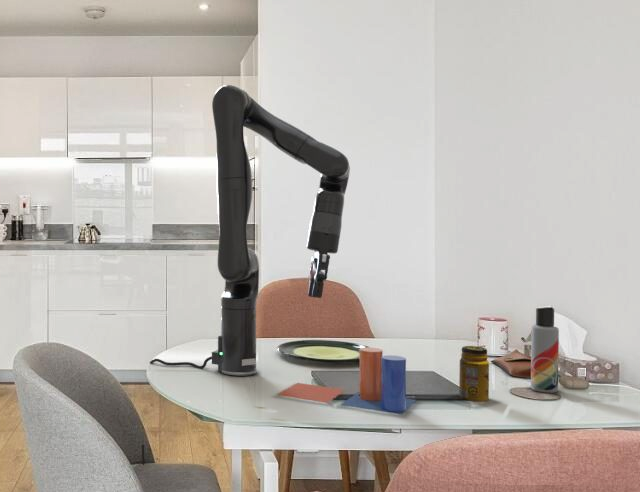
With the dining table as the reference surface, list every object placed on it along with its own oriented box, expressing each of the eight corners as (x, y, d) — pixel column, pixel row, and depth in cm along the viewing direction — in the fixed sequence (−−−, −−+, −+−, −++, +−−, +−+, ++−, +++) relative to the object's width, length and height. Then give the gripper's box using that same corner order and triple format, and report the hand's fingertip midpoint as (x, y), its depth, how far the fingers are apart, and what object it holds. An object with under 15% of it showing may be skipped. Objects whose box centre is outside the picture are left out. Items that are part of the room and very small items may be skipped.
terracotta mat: (276, 397, 165) (276, 394, 165) (297, 385, 176) (297, 382, 176) (327, 405, 158) (327, 402, 158) (345, 392, 169) (345, 389, 169)
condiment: (497, 402, 161) (497, 348, 161) (475, 407, 156) (475, 353, 156) (467, 394, 167) (467, 343, 167) (445, 400, 162) (445, 347, 162)
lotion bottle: (548, 394, 167) (549, 309, 167) (525, 388, 172) (526, 305, 172) (563, 391, 170) (564, 307, 169) (540, 385, 175) (541, 304, 174)
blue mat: (340, 407, 157) (340, 404, 157) (358, 394, 168) (358, 391, 167) (401, 417, 149) (401, 414, 149) (416, 402, 160) (416, 399, 160)
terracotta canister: (356, 398, 161) (356, 350, 161) (363, 393, 165) (363, 346, 165) (378, 402, 158) (379, 352, 158) (385, 397, 163) (385, 348, 162)
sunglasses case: (487, 360, 201) (500, 340, 200) (510, 373, 200) (523, 353, 199) (511, 375, 183) (525, 353, 182) (536, 390, 182) (551, 368, 182)
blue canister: (378, 409, 153) (378, 358, 152) (384, 404, 157) (384, 354, 157) (402, 413, 150) (402, 361, 150) (408, 408, 154) (408, 357, 154)
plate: (392, 356, 209) (392, 347, 209) (350, 373, 188) (350, 363, 188) (306, 343, 227) (306, 336, 227) (259, 358, 207) (259, 349, 206)
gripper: (305, 232, 184) (295, 294, 183) (312, 227, 170) (302, 294, 169) (335, 237, 183) (325, 299, 182) (344, 232, 169) (334, 300, 168)
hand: (314, 297), depth 175 cm, fingers open, 8 cm apart
